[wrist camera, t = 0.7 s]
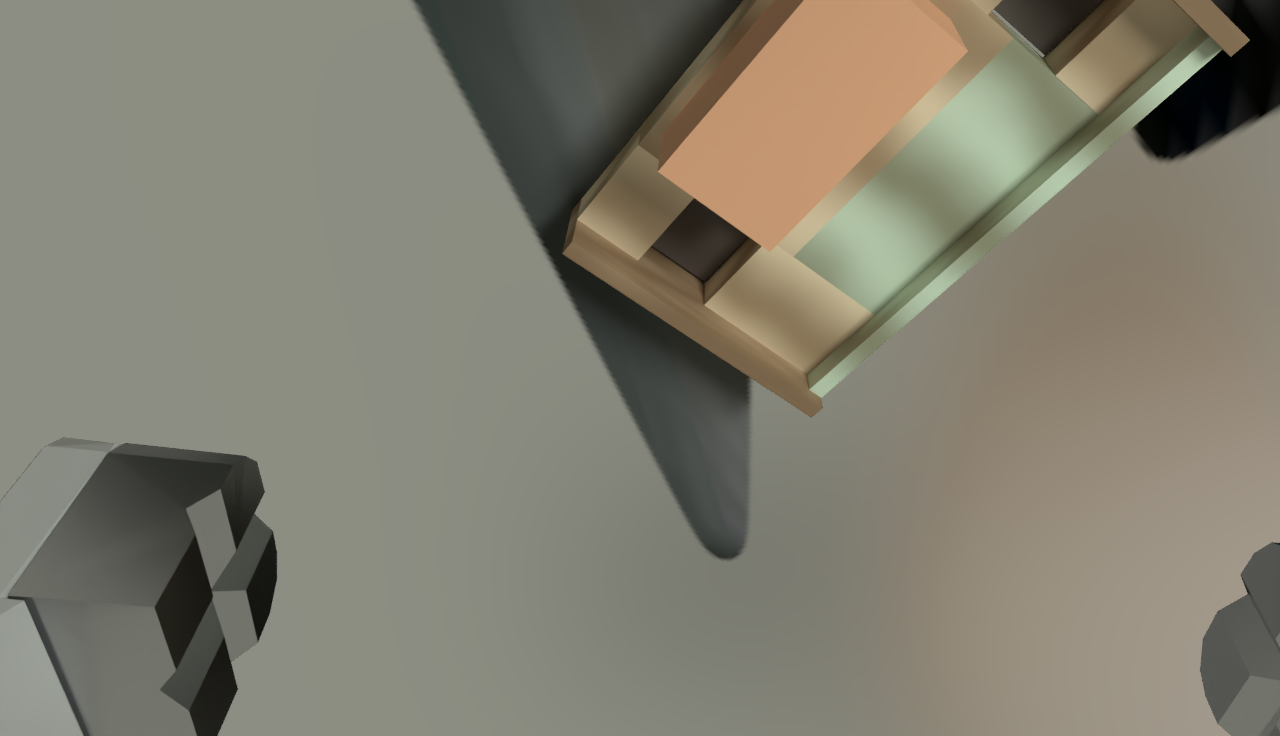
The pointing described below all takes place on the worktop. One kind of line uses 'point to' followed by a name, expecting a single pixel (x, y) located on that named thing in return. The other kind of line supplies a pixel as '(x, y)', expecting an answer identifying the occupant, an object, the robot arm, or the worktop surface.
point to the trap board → (891, 185)
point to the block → (803, 106)
